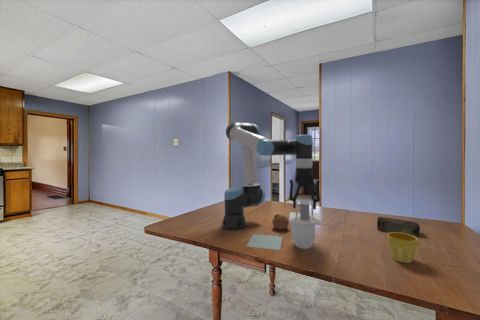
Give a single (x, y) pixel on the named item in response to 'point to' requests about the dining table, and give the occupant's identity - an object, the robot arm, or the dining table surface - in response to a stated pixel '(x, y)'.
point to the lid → (304, 215)
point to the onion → (280, 222)
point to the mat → (265, 241)
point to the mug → (303, 235)
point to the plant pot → (402, 246)
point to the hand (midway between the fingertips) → (304, 215)
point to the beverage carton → (398, 226)
